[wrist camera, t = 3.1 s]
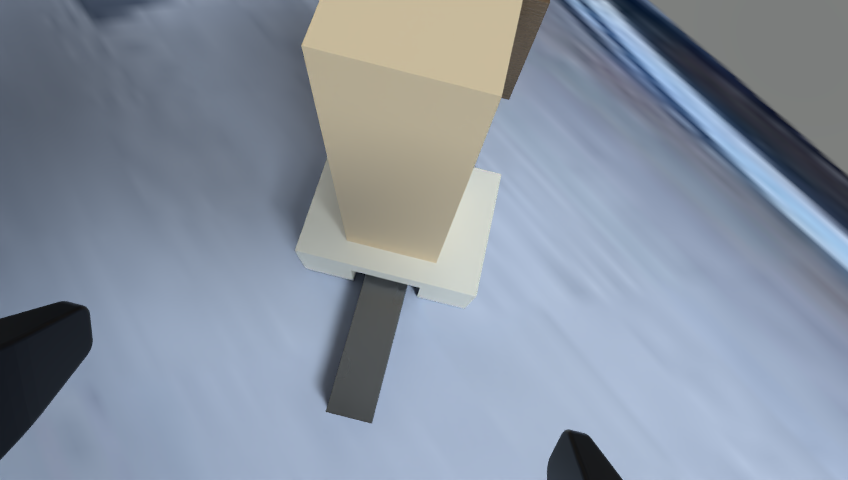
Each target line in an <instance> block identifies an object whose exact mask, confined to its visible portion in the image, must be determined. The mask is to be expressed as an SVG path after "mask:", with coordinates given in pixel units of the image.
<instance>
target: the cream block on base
mask: <svg viewBox="0 0 848 480" xmlns="http://www.w3.org/2000/svg"><path fill="white" fill-rule="evenodd" d="M522 1H523V0H320V1H319V3H318V6H317V8H316V11H315V13H314V16H313V18H312V20H311V23H310V25H309V28H308V30H307V33H306V35H305V38H304V40H303V43H302V45H301V46H302V51H303V55H304V59H305V63H306V68H307V72H308V76H309V81H310V85H311V89H312V93H313V98H314V102H315V106H316V110H317V115H318V119H319V123H320V128H321V132H322V136H323V140H324V145H325V149H326V153H327V160H326V162H325V165H324V168H323V171H322V174H321V177H320V180H319V183H318V185H317V188H316V191H315V194H314V197H313V200H312V203H311V206H310V208H309V211H308V214H307V217H306V220H305V223H304V226H303V228H302V231H301V234H300V237H299V240H298V243H297V246H296V249H295V252H296V253H297V255H298V257H299V258H300V260H301V262H302V263H303V265H304V266H305V268H306V269H309V270H313V271H317V272H321V273H325V274H329V275H333V276H337V277H341V278H345V279H349V280H353V281H354V277H355V274H356V272H360V273H364V274H367V275H371V276H375V277H379V278H383V279H387V280H391V281H395V282H399V283H403V284H407V285H411V286H415V287H419V291H418V295H417V297H420V298H424V299H428V300H432V301H435V302H439V303H443V304H447V305H451V306H455V307H459V308H463V309H465V308H466V307H467V306H468V305H469V304H470V303H471V302H472V301H473V299H474V298H475V297H476V295H477V290H478V285H479V281H480V276H481V271H482V266H483V261H484V256H485V251H486V246H487V242H488V237H489V232H490V227H491V222H492V217H493V212H494V207H495V203H496V198H497V193H498V188H499V183H500V178H501V174H498V173H494V172H490V171H486V170H482V169H478V168H475V167H474V166H475V163H476V161H477V158H478V156H479V153H480V151H481V148H482V145H483V143H484V140H485V138H486V135H487V133H488V130H489V128H490V125H491V123H492V120H493V117H494V115H495V112H496V110H497V107H498V105H499V102H500V100H501V97H502V93H503V89H504V84H505V79H506V75H507V70H508V66H509V61H510V56H511V52H512V47H513V43H514V38H515V34H516V29H517V24H518V20H519V15H520V11H521V6H522Z"/></svg>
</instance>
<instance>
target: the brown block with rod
mask: <svg viewBox="0 0 848 480" xmlns="http://www.w3.org/2000/svg"><path fill="white" fill-rule="evenodd" d="M549 4H550V0H523V1H522V6H521V11H520V15H519V20H518V24H517V29H516V34H515V38H514V43H513V47H512V52H511V56H510V61H509V66H508V70H507V75H506V79H505V84H504V89H503V93H502V97H501V98H505V99H508V100H509V98H510V96H511V94H512V91H513V89H514V86H515V84H516V82H517V79H518V77H519V75H520V72H521V70H522V68H523V65H524V63H525V60H526V58H527V56H528V53H529V51H530V49H531V46H532V44H533V41H534V39H535V37H536V34H537V32H538V30H539V27H540V25H541V22H542V20H543V18H544V15H545V13H546V11H547V8H548V6H549ZM406 289H407V284H403V283H399V282H395V281H391V280H387V279H383V278H379V277H375V276H371V275H367V274H366V275H365V278H364V282H363V285H362V289H361V292H360V295H359V299H358V302H357V306H356V309H355V313H354V316H353V320H352V323H351V326H350V330H349V333H348V337H347V340H346V344H345V347H344V351H343V354H342V358H341V361H340V364H339V368H338V371H337V375H336V378H335V382H334V385H333V389H332V392H331V395H330V399H329V402H328V406H327V409H326V412H329V413H332V414H336V415H340V416H344V417H348V418H352V419H356V420H360V421H364V422H368V423H372V421H373V417H374V413H375V409H376V405H377V401H378V398H379V394H380V390H381V386H382V382H383V378H384V374H385V370H386V366H387V363H388V359H389V355H390V351H391V347H392V343H393V339H394V335H395V331H396V328H397V324H398V320H399V316H400V312H401V308H402V304H403V300H404V296H405V293H406Z"/></svg>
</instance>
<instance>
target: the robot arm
mask: <svg viewBox="0 0 848 480" xmlns="http://www.w3.org/2000/svg"><path fill="white" fill-rule="evenodd" d="M92 342H93V338H92V329H91V320H90V312H89V310H88V308H87V307H85V306H83V305H79V304H76V303H72V302H68V301H61V302H57V303H53V304H50V305H46V306H43V307H39V308H36V309H32V310H29V311H25V312H22V313H18V314H15V315H11V316H8V317H4V318H1V319H0V460H1V459H2V458H3V457H4V455H5V454H6V453H7V452H8V451H9V450H10V449H11V448H12V447H13V446H14V445H15V444H16V443H17V442H18V441H19V439H20V438H21V437H22V436H23V435H24V434H25V433H26V432H27V431H28V429H29V428H30V427H31V426H32V425H33V424H34V422H35V421H36V420H37V419H38V418H39V416H40V415H41V414H42V413H43V411H44V410H45V409H46V408H47V406H48V405H49V404H50V402H51V401H52V400H53V399H54V397H55V396H56V395H57V393H58V392H59V391H60V390H61V388H62V387H63V386H64V384H65V383H66V382H67V381H68V379H69V378H70V377H71V375H72V374H73V373H74V372H75V370H76V369H77V368H78V366H79V365H80V364H81V363H82V361H83V360H84V359H85V357H86V356H87V355H88V353H89V351H90V350H91V347H92ZM547 480H623V479H622V478H621V477H620V475H619V474H618V473H617V472H616V470H615V469H614V468H613V466H612V465H611V464H610V462H609V461H608V460H607V458H606V457H605V456H604V454H603V453H602V452H601V450H600V449H599V448H598V447H597V445H596V444H595V443H594V441H593V440H592V439H591V438H590V436H588V435H587V434H585V433H581V432H577V431H573V430H565V431H564V432H563V433H562V435H561V436H560V438H559V440H558V442H557V444H556V446H555V448H554V450H553V452H552V454H551V456H550V458H549V461H548V467H547Z"/></svg>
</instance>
